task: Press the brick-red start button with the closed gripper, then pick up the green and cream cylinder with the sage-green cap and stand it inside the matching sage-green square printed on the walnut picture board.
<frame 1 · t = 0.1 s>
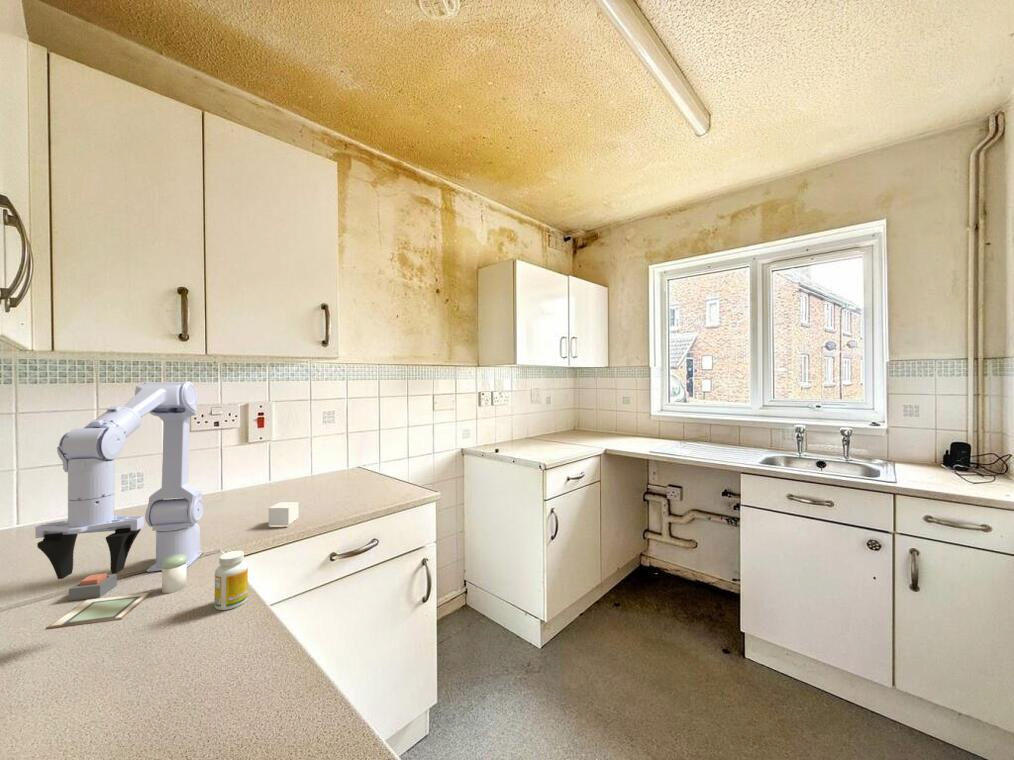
hand: (91, 573, 71), 10 cm above the worktop, tool pointing down, fingers open, 7 cm apart
button housing: (93, 592, 84), on the worktop
supplement bottle: (231, 604, 80), on the worktop
white cube: (283, 525, 125), on the worktop
green and cream cylinder: (174, 588, 86), on the worktop
done button: (93, 580, 84), point 3 cm above the worktop, slide at 0.0 cm
picture board: (103, 609, 78), on the worktop
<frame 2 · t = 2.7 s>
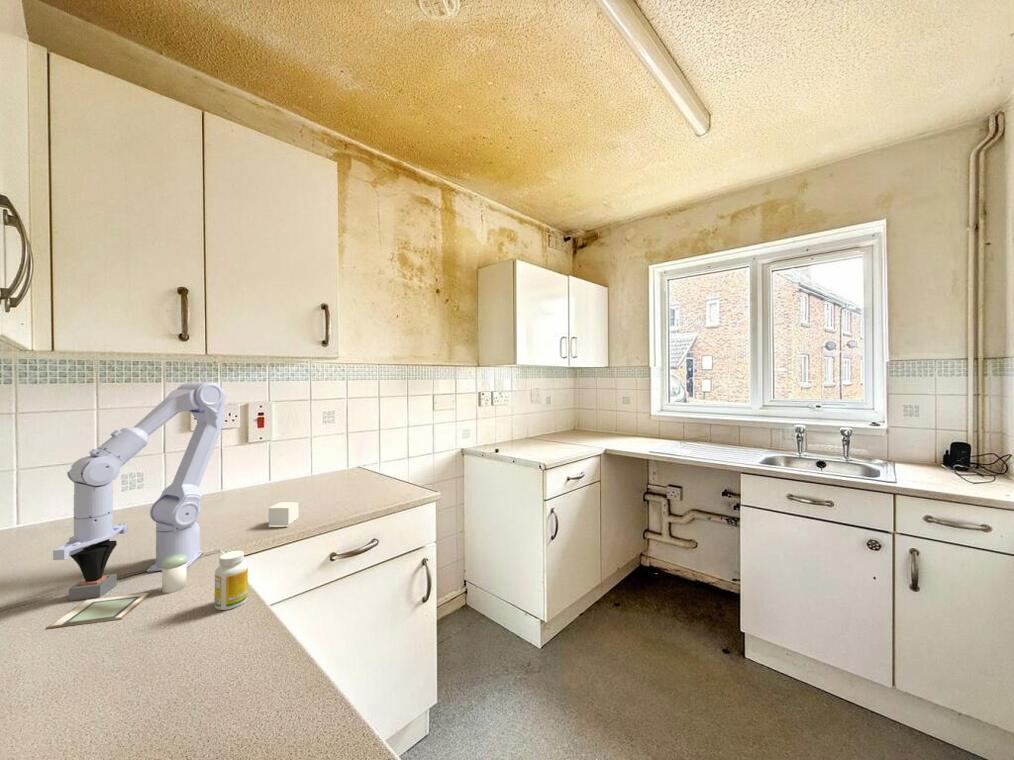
hand: (93, 580, 84), 3 cm above the worktop, tool pointing down, fingers closed, pressing on done button
done button: (93, 582, 84), point 2 cm above the worktop, slide at 0.5 cm, touching gripper
everything else where it was.
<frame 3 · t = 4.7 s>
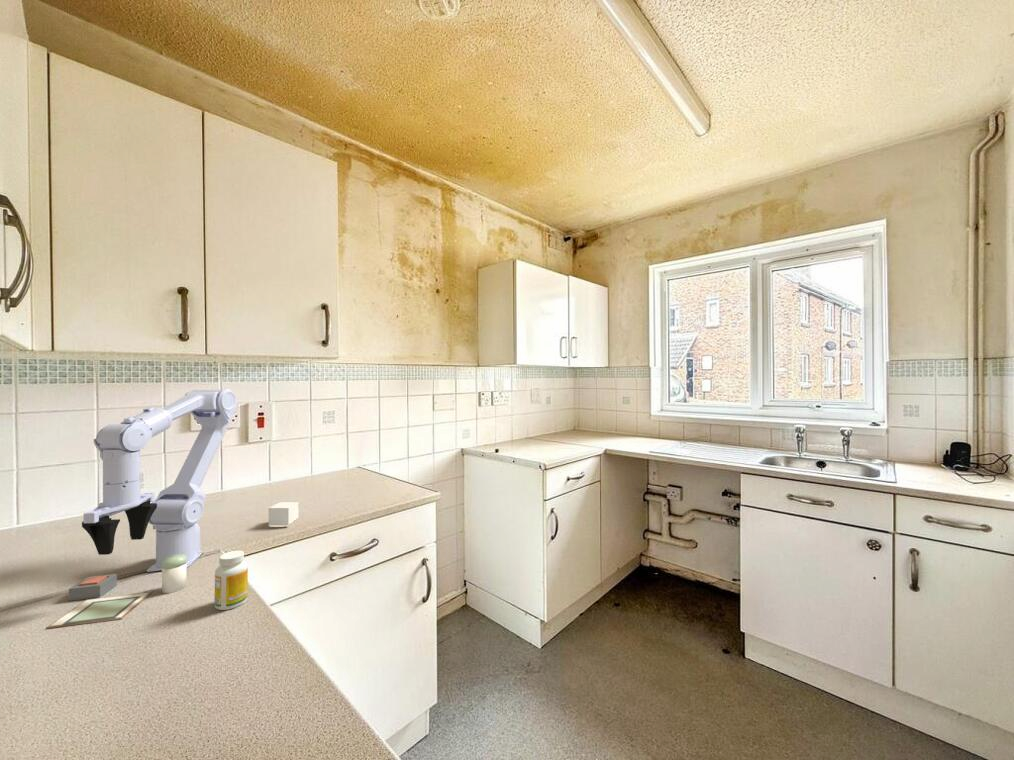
hand: (122, 546, 85), 9 cm above the worktop, tool pointing down, fingers open, 7 cm apart
done button: (93, 582, 84), point 2 cm above the worktop, slide at 0.5 cm
everything else where it was.
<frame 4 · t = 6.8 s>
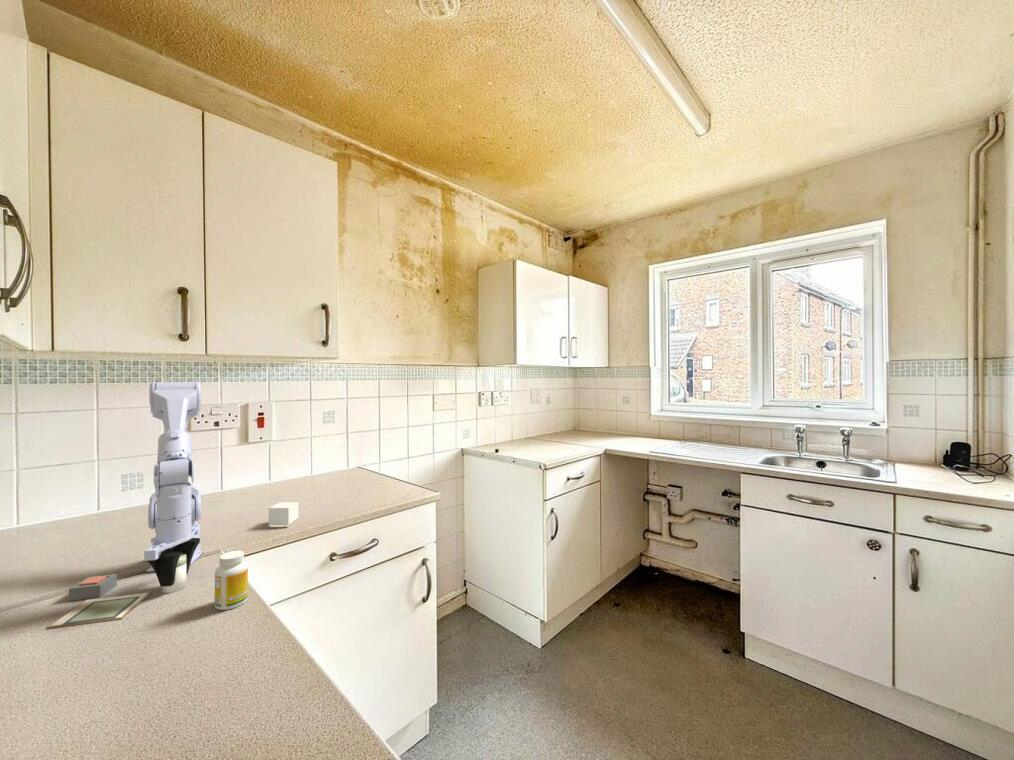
hand: (174, 580, 86), 2 cm above the worktop, tool pointing down, fingers closed on green and cream cylinder, 4 cm apart
green and cream cylinder: (174, 588, 86), on the worktop, touching gripper
everything else where it was.
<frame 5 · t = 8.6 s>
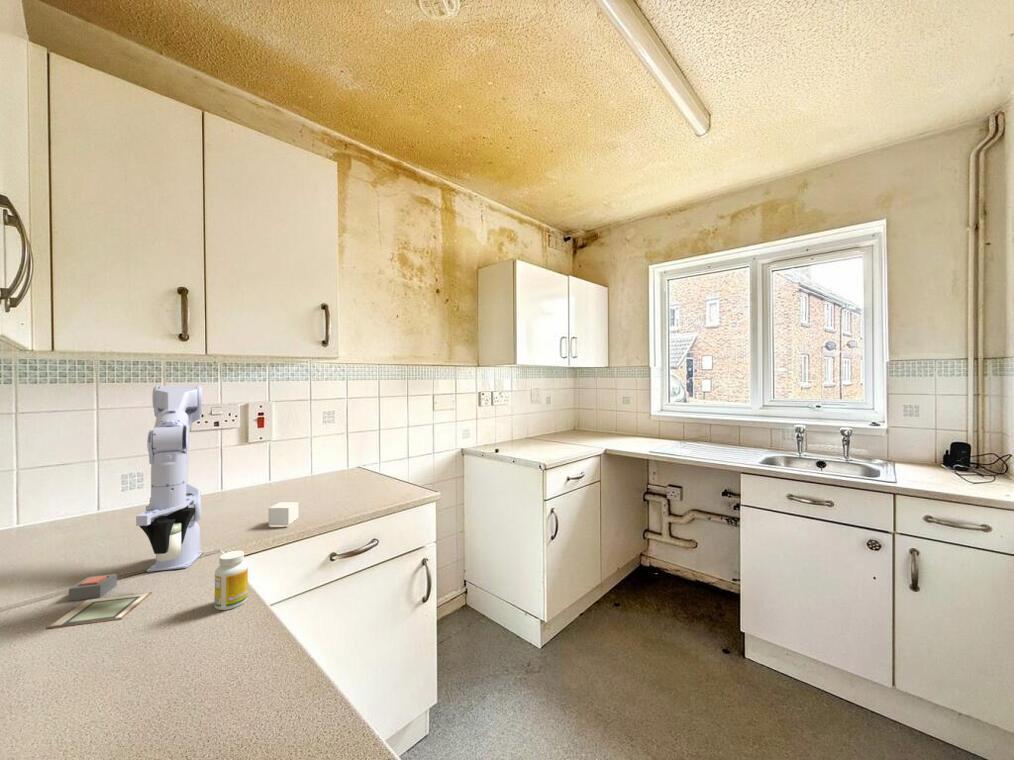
hand: (168, 548, 85), 9 cm above the worktop, tool pointing down, fingers closed on green and cream cylinder, 4 cm apart
green and cream cylinder: (169, 556, 85), point 7 cm above the worktop, touching gripper
everything else where it was.
when the fingers open (3 cm above the worktop, at t = 10.9 s): green and cream cylinder stays where it is, resting on picture board.
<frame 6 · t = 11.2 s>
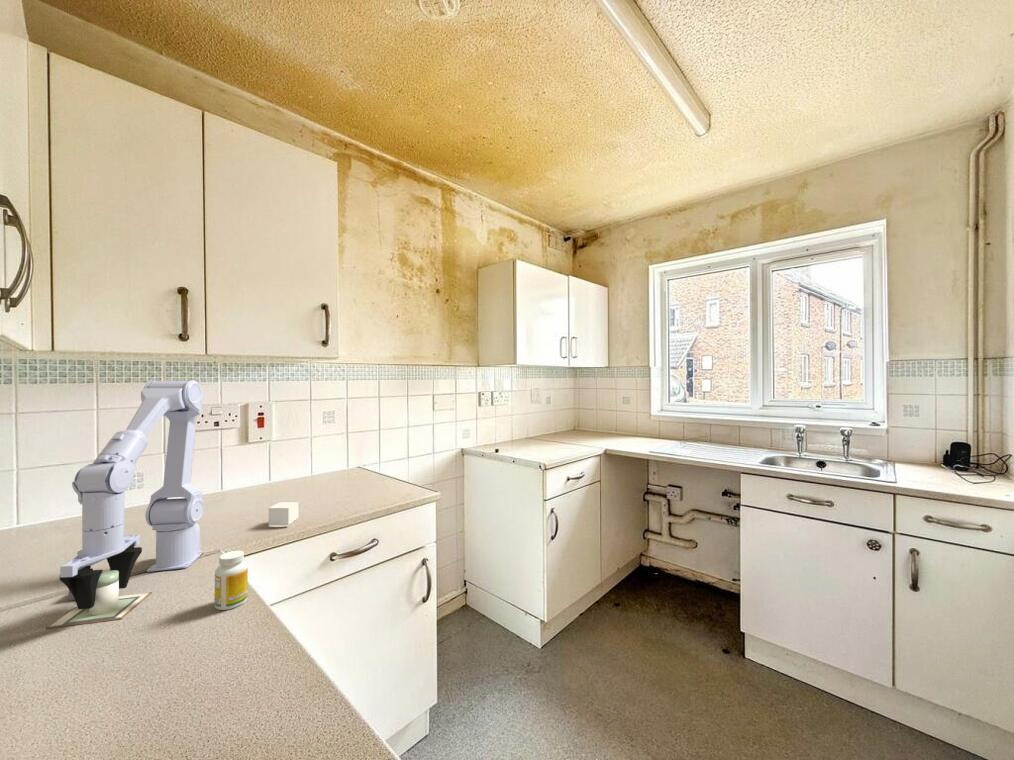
hand: (103, 597, 77), 3 cm above the worktop, tool pointing down, fingers open, 7 cm apart
green and cream cylinder: (104, 609, 77), resting on picture board
everything else where it was.
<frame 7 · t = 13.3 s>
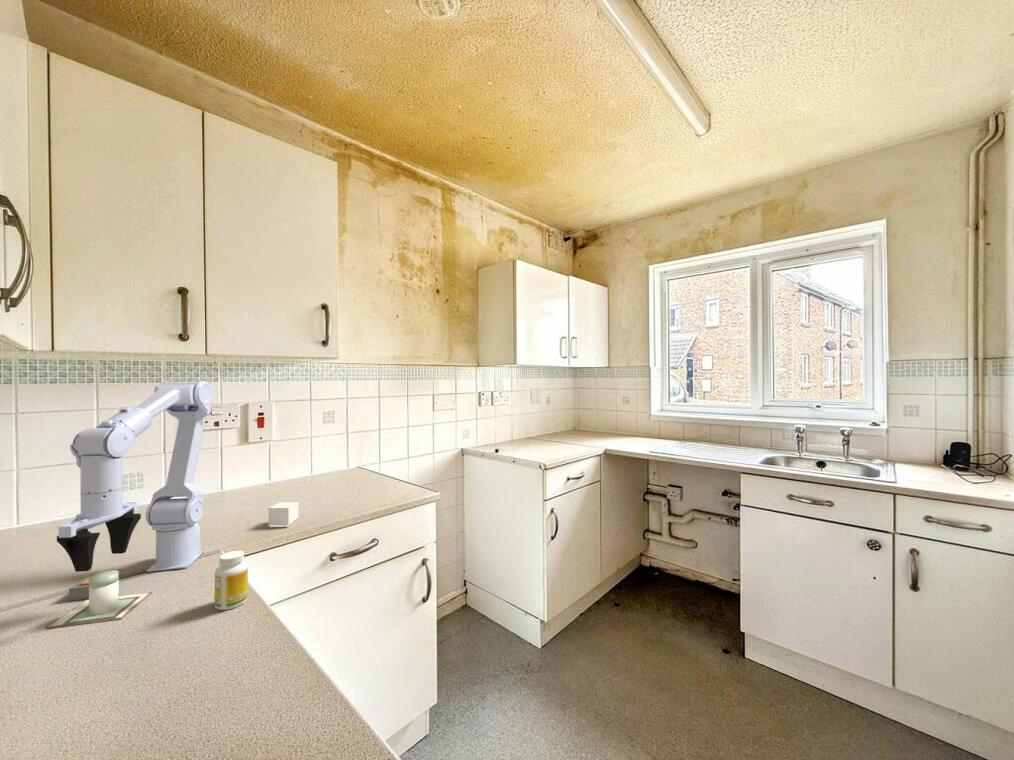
hand: (102, 561, 78), 9 cm above the worktop, tool pointing down, fingers open, 7 cm apart
nothing on the worktop moved.
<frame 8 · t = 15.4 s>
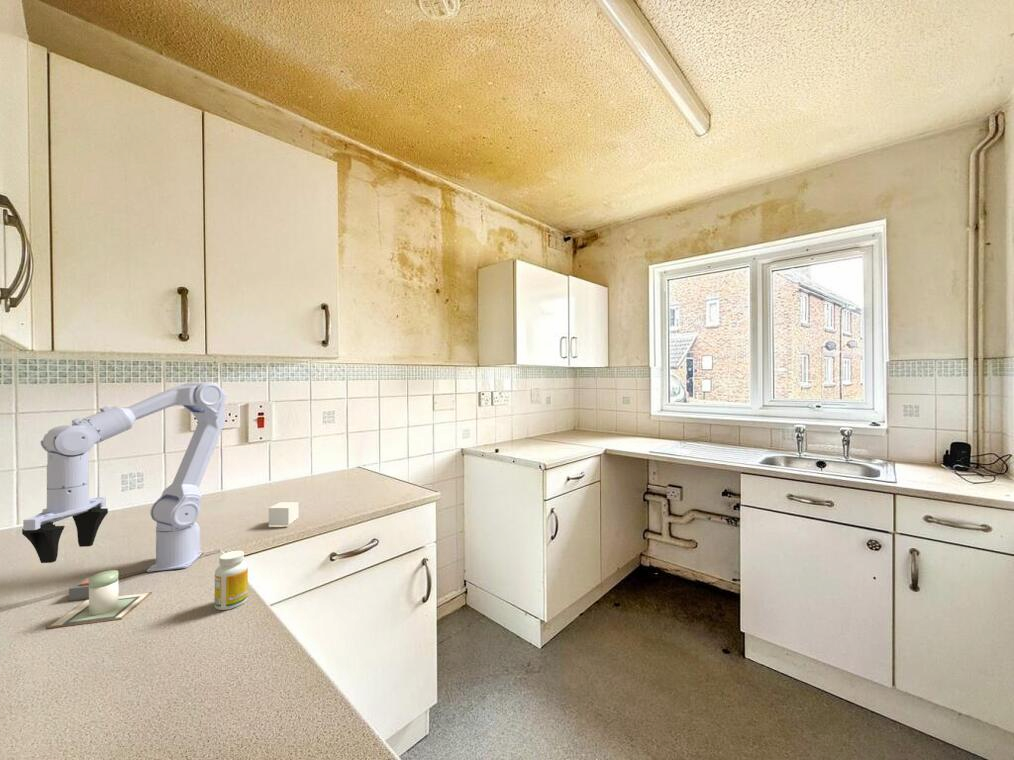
hand: (68, 553, 81), 9 cm above the worktop, tool pointing down, fingers open, 7 cm apart
nothing on the worktop moved.
at the end: green and cream cylinder 0.1 cm off-centre on the picture board, point 0.4 cm above the picture board's base; green and cream cylinder tilted 1°; done button slide at 0.5 cm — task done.
